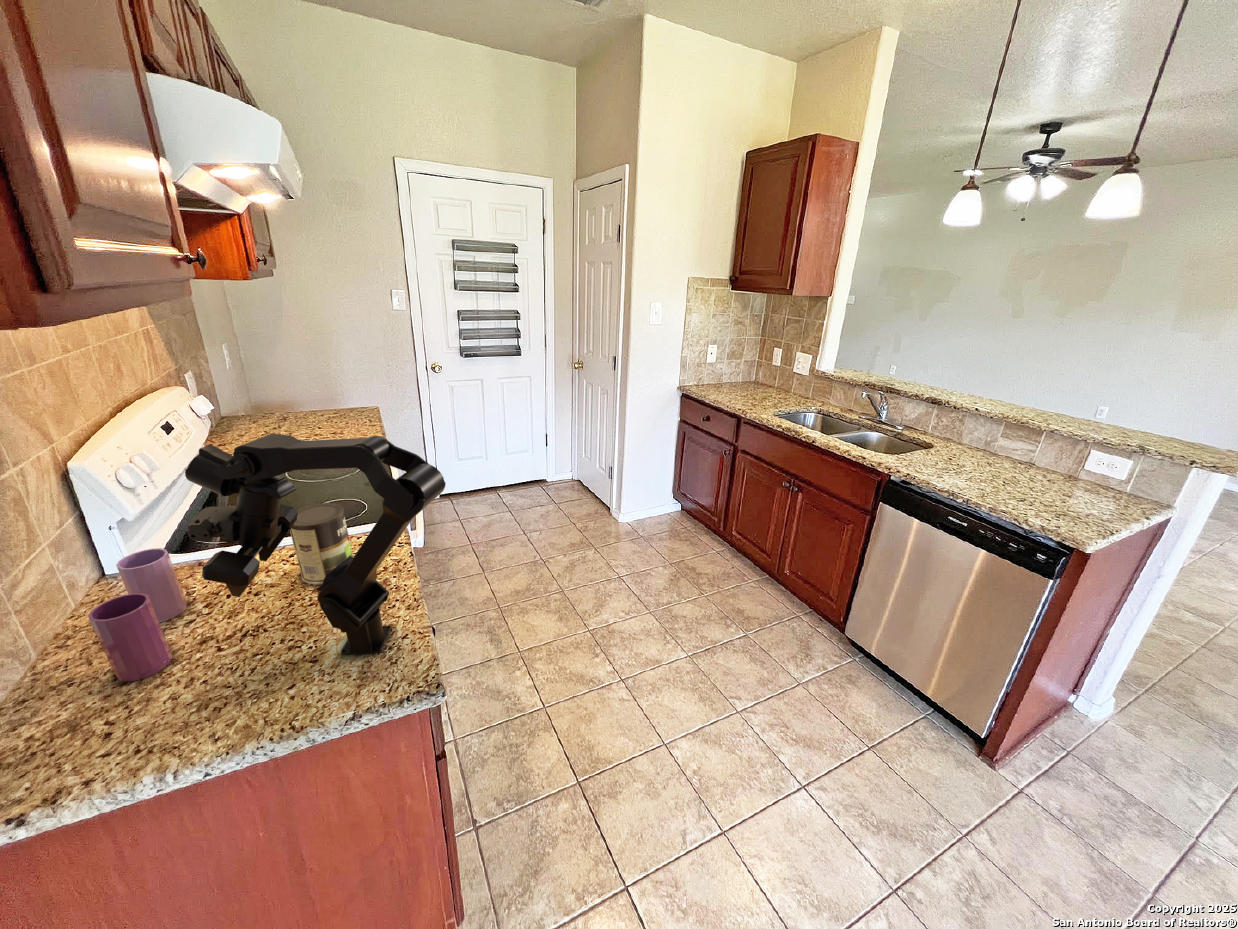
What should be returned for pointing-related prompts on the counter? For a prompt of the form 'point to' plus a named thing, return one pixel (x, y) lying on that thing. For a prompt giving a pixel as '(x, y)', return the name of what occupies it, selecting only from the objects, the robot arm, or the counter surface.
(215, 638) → the counter surface
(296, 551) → the coffee can
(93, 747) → the counter surface
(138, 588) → the lavender cup
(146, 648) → the plum cup
